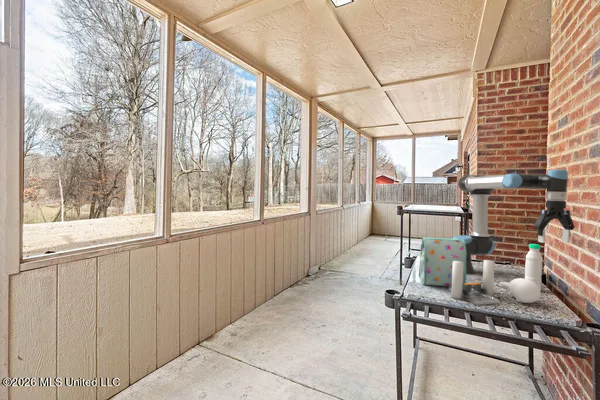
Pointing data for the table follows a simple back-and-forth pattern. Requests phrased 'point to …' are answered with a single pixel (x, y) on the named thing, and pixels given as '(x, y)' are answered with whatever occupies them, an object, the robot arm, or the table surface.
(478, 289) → the orange-faced thin slab
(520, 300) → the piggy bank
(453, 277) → the white tapered rounded cylinder
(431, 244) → the lunch bag
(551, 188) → the robot arm
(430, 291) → the table surface
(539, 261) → the water bottle
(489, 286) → the off-white domed rod
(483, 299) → the plate
